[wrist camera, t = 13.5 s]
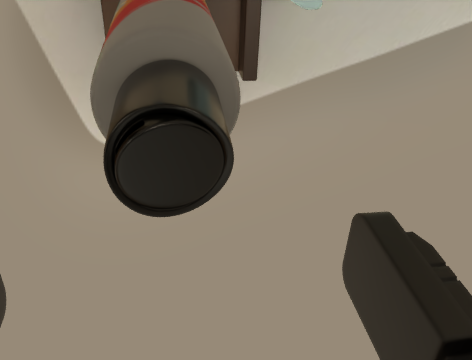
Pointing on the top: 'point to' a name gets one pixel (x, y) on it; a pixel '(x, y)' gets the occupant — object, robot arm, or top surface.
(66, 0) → the top surface
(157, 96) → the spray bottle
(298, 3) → the squiggly pen holder
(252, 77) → the shelf
